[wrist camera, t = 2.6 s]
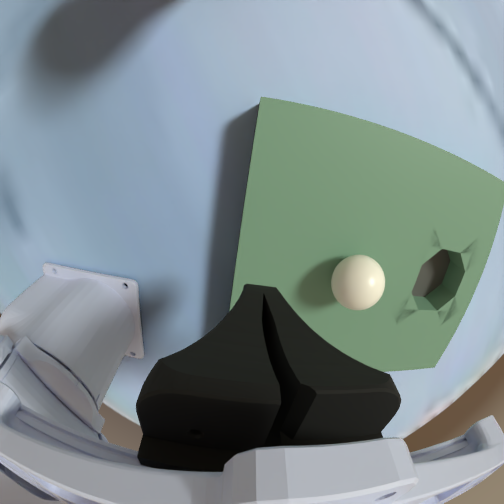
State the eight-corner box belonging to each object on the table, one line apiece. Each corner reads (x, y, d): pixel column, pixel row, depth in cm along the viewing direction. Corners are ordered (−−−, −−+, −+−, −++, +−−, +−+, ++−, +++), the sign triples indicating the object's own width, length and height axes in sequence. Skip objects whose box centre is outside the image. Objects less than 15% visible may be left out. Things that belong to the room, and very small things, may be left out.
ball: (319, 290, 17) (332, 319, 14) (332, 242, 16) (350, 265, 13) (364, 294, 17) (382, 322, 14) (378, 250, 16) (402, 272, 13)
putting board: (224, 344, 22) (222, 365, 20) (259, 103, 15) (261, 96, 13) (424, 351, 23) (434, 367, 21) (488, 178, 16) (507, 184, 14)
